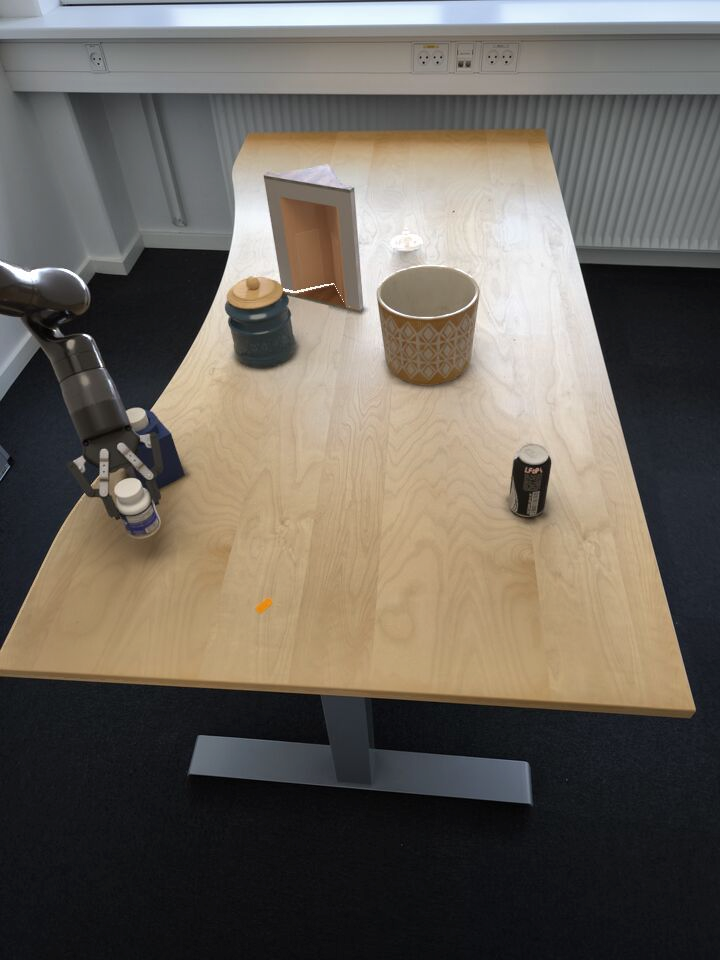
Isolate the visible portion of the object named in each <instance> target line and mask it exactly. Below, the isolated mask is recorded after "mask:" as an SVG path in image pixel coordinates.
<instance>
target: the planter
mask: <svg viewBox="0 0 720 960" xmlns="http://www.w3.org/2000/svg"><path fill="white" fill-rule="evenodd" d="M480 292H481V290H480V286H479V284H478V282H477V281H476V279H474V277H472V276H471V275H470V274H469V273H467V272H465V271H463V270H460V269H458V268H454V267H450V266H446V265H445V266H444V265H435V264H432V265H431V264H426V265H417V266H416V265H415V266H410V267H406V268H403V269H400V270H398V271H397V270H396V271H395V272H393V273H391V274H389V275H388V276H387V277H385V278H384V279H383V280H382V281H381V282H380V284H378V287H377V289H376V299H377V307H378V315H379V321H380V328H381V336H382V343H383V351H384V358H385V359H384V360H385V362H386V366H387V367H388V369H389V370H390V372H391V373H392V374H394V375H395V376H396V377H397V378H399V379H401V380H403V381H404V382H408V383H411V384H416V385H425V386H426V385H428V386H429V385H438V384H439V385H440V384H443V383H446V382H449V381H452V380H454V379H456V378H458V377H459V376H460V375H462V374H463V373H464V372H465V371H466V370H467V368H468V366H469V365H470V363H471V360H472V352H473V346H474V338H475V332H476V331H475V330H476V324H477V317H478V316H477V315H478V309H479V299H480Z"/></svg>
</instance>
